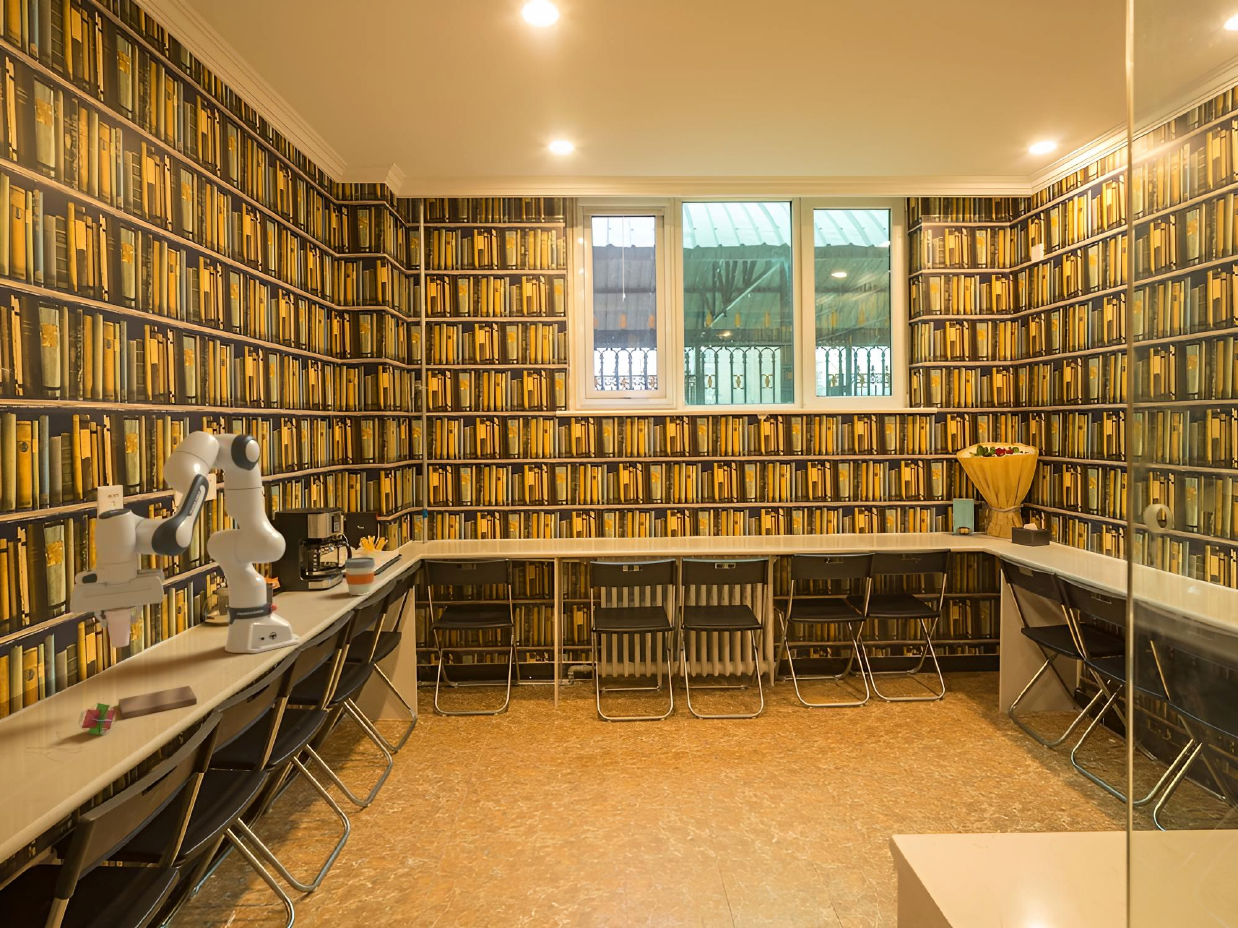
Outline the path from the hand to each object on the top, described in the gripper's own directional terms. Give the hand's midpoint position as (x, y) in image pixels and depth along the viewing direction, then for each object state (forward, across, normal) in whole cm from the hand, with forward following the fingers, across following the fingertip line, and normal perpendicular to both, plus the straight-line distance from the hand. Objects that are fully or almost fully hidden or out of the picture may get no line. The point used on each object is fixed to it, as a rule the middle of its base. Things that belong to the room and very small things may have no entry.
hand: (119, 624), depth 189 cm
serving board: (+21, -7, +7) cm, 23 cm away
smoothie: (+6, 0, 0) cm, 6 cm away
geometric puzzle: (+21, +6, +19) cm, 29 cm away
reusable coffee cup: (+22, -91, -93) cm, 132 cm away
